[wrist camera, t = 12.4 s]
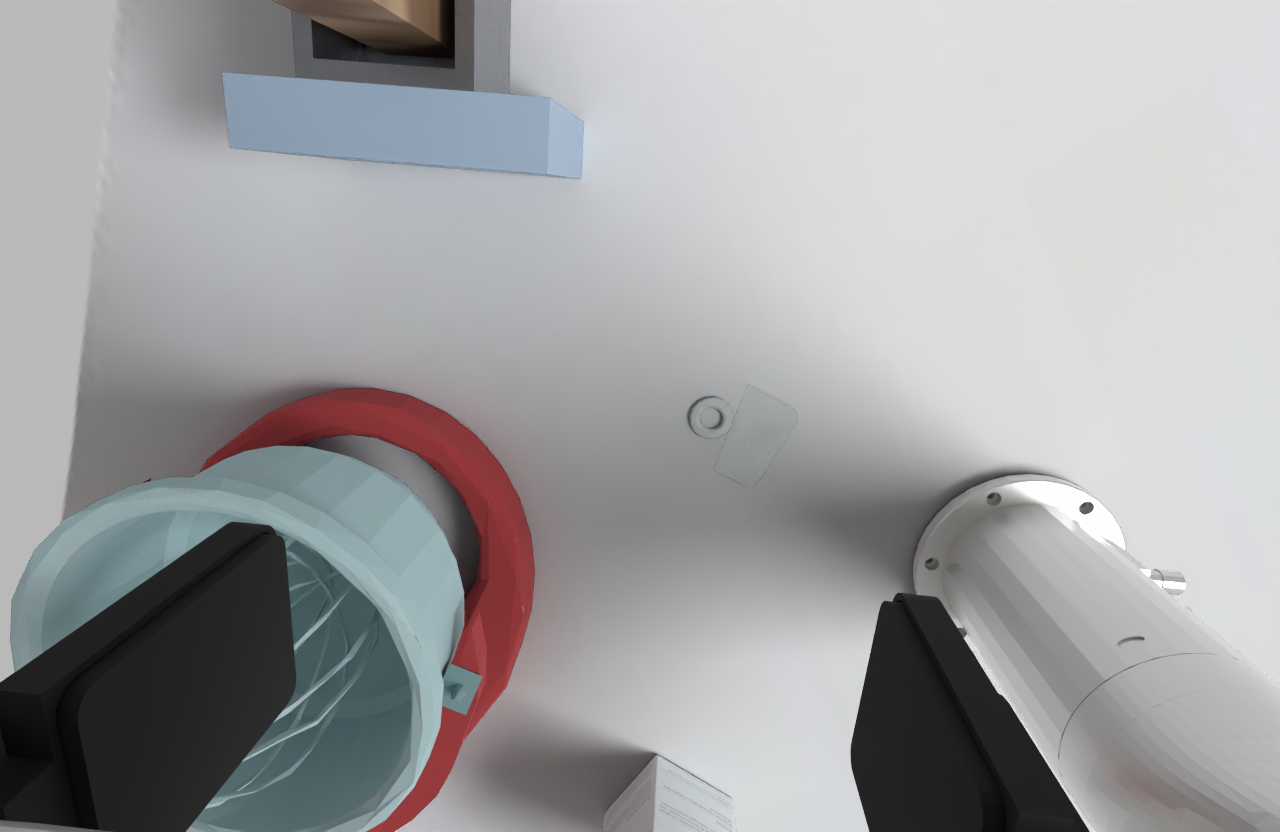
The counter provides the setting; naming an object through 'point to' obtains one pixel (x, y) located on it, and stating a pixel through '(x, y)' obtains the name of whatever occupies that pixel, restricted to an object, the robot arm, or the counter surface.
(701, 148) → the counter surface
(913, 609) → the robot arm
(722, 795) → the supplement box
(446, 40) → the walnut rail
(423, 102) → the slate-blue board
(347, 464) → the stand mixer
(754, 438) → the mounting bracket
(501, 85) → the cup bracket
